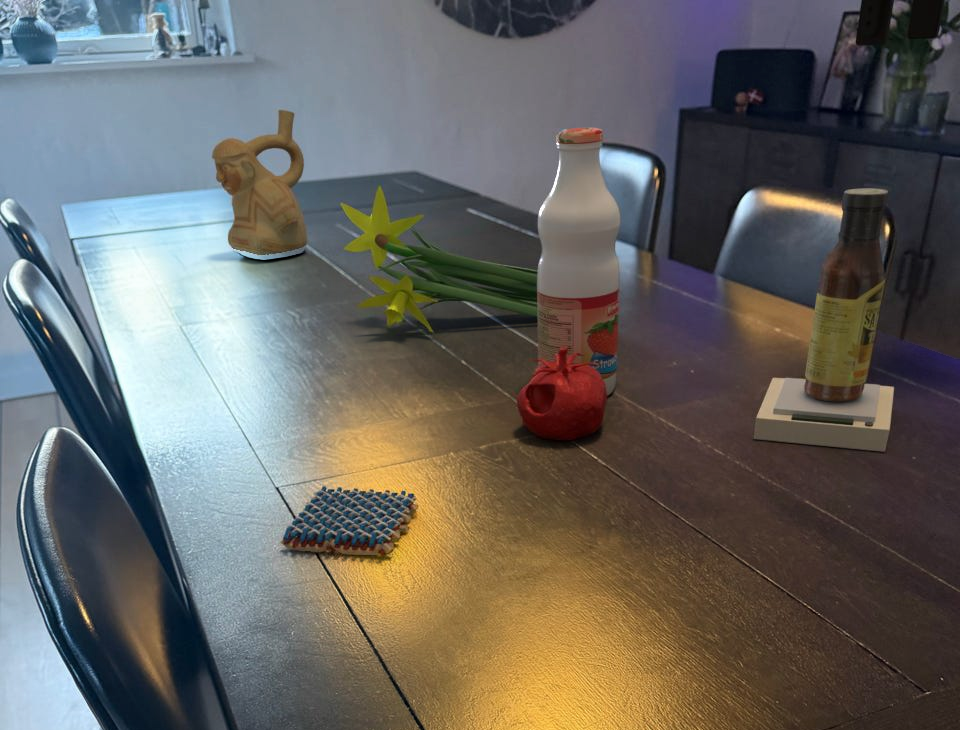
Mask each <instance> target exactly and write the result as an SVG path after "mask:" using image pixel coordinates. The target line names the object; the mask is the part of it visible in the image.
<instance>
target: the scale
mask: <svg viewBox="0 0 960 730" xmlns="http://www.w3.org/2000/svg"><path fill="white" fill-rule="evenodd" d="M770 381H771V382H770V383H769V386H768V388H767V391H766V393H765V395H764V398H763V401H762V403H761V405H760V408H759V410H758V411H757V412H758V413H757V415H756V417H755V424H754V431H753V432H754V433H753V439H754V440H758V441H759V440H760V441H769V442H770V441H771V442H778V443H779V442H781V443H791V444H799V445H809V446H810V445H811V446H821V447H830V448H831V447H832V448H841V449H852V450H862V451H870V452H871V451H873V452H881V453H886V450H887V446H888V442H889V441H888V440H889V435H890V430H891V422H892V411H893V403H894V394H895V386H888V385H880V384H877V383H875V384H874V383H865V384H864V389H863V392H862V394H861V396H859V397H858V398H856V399H853V400H849V401H843V402H833V401H822V400H818V399H815V398H812V397H810V396H809V395H807V394H806V392H805V390H804V385H805V381H806V378H795V377H785V378H783V377H772V378H771V380H770Z"/></svg>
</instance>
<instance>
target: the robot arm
mask: <svg viewBox="0 0 960 730" xmlns="http://www.w3.org/2000/svg"><path fill="white" fill-rule="evenodd" d="M945 2H946V0H912V5H911V11H910V17H909V22H908V28H907V34H906V37H907V39H908V40H927V39H928V40H929V39H931V40H932V39H936V38H938V37H939V34H940V29H941V23H942V18H943V14H944V8H945ZM894 3H895V0H861V1H860V8H859V15H858V22H857V29H856V36H855V45H856V46H884V45H886V44H887V43H888V41H889V35H890V27H891V22H892V17H893V10H894Z"/></svg>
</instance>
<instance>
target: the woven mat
mask: <svg viewBox="0 0 960 730" xmlns="http://www.w3.org/2000/svg"><path fill="white" fill-rule="evenodd" d="M313 494H314V496H311V499H310V501H309V500H307V501H306V503H305V505H304V506H305V507H304V508H303V509H302V511H300V512H299V513H298V515H297V516H296V517H295V518H294V519H293V520H292V522H291V524H289V525H288V526H287V527H286V529H285V530H284V535H283V537H282V540H281V541H280V544H282V545H283V547H285V548H286V549H288V550H292V551H294V550H299V551H298V552H305V551H311V552H310V553H318V552H319V553H322V552H326V551H334V550H335V551H336V552H338V553H340V554H342V555H350V556H351V555H352V556H378V555H388V554H389V553H390V552H391V551H393V550H394V547H395V546H394V543H395V542H397V541H398V540H399V539H400V537H401V533H400V532H404V533H407V532H409V526H408V525H407V524H408V523H410V522H411V521H412V516H411V515H413V514H415V513H416V512H417V511H416V510H417V509H419V505H418V504H416V503H415V502H416V501H417V500H418V498H417V497H416V495H415V493H406V490H401V492H400V494H399V492H391V491H390V489H385V491H384V492H383V491H375V490H374V489H373V488H372V489H371V488H370V489H369V491H367V490H359V489H358V488H353V489H352V490H350V489H344V490H343V488H342V487H341V486H340V487H339V486H338V487H337V489H336V491H335V489H334V488H328V489H327V486H322V487H321V490H318V491H315V492H314V493H313ZM406 494H407V495H406ZM409 521H410V522H409ZM392 549H393V550H392Z"/></svg>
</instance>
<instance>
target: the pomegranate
mask: <svg viewBox="0 0 960 730" xmlns="http://www.w3.org/2000/svg"><path fill="white" fill-rule="evenodd" d="M558 352H559V354H555V355H553V356H555V357H556V362H552V361H551V362H548V361H546V360H544V359H538V358H537V359H532V360H530V362H538V361H540V362H542V363H544V364H540V365H538V364H537V366H536V367H535V370H534V372H533V373H532V374H531V379H530V380H529V382H528V383H527V384H526V385H525V386H523V387H522V388H521V389H520V391H518V393H517V396H516V406H517V409H518V413H519V415H520V417H521V420H522V423H523V424H524V426H525V427H526V428H527V429H528V430H529V431H531V433H533V434H534V435H536V436H538V437H540V438H543V439H548V440H554V441H572V440H576V439H579V438H582V437H586V436H590V435H593V434H594V433H595V432H596V431H598V430H599V428H600V427H601V426H602V425H603V421H604V417H605V411H606V404H607V399H608V396H607V391H606V386H605V383H604V381H603V379H602V377H601V375H600V373H599V372H598V371H597V370H596V369H595V368H593V367H591V366H589V365H587V364H590V365H596V366H598V365H600V364H595V363H592V362H587V363H582V364H578V363H574V362H573V360H574V359H575V357H576V356H584V355H581V354H579V353H577V352H576V353H574V354H573V355H571V356H570V357H569V358H567V359H566V354H567V352H568V348H567V347H566V346H563V347H561V348H559V351H558Z"/></svg>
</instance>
